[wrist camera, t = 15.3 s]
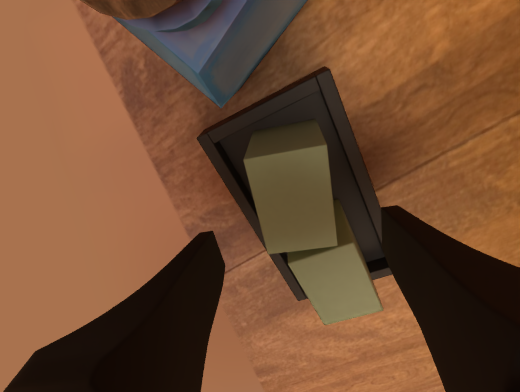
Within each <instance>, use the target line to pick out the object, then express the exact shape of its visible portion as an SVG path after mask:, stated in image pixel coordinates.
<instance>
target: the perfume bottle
mask: <svg viewBox="0 0 520 392" xmlns="http://www.w3.org/2000/svg"><path fill="white" fill-rule="evenodd" d="M81 1H82V2H84V3H85V4H87V5H88V6H90V7H92V8H93V9H95V10H96V11H98V12H99V13H102V14H105V15H109V16H112V17H113V18H115V19H116V20H117V21H118V22H119V23H120V24H122V25H123V26H124V27H125V28H126V29H128V30H129V31H130V32H131V33H132V34H134V35H135V36H136V37H137V38H138V39H139V40H141V41H142V42H143V43H144V44H145V45H147V46H148V47H149V48H150V49H151V50H152V51H154V52H155V53H156V54H157V55H158V56H160V57H161V58H162V59H163V60H164V61H166V62H167V63H168V64H169V65H170V66H171V67H173V68H174V69H175V70H176V71H177V72H179V73H180V74H181V75H182V76H183V77H184V78H186V79H187V80H188V81H189V82H190V83H192V84H193V85H194V86H195V87H196V88H198V89H199V90H200V91H201V92H202V93H203V94H205V95H206V96H207V97H208V98H209V99H211V100H212V101H213V102H214V103H215V104H217V105H218V106H219V107H220V108H222V107H223V106H224V105H225V104H226V103H227V102H228V101H229V100H230V99H231V97H232V96H233V95H234V94H235V93H236V92H237V91H238V90H239V89H240V88H241V87H242V86H243V84H244V83H245V82H246V80H247V79H248V78H249V76H250V75H251V74H252V72H253V71H254V70H255V69H256V67H257V66H258V65H259V63H260V62H261V61H262V59H263V58H264V57H265V55H266V54H267V53H268V51H269V50H270V49H271V47H272V46H273V45H274V44H275V42H276V41H277V40H278V38H279V37H280V36H281V34H282V33H283V32H284V30H285V29H286V28H287V26H288V25H289V24H290V23H291V21H292V20H293V19H294V17H295V16H296V15H297V13H298V12H299V11H300V9H301V8H302V7H303V5H304V4H305V3H306V1H307V0H81Z"/></svg>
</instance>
